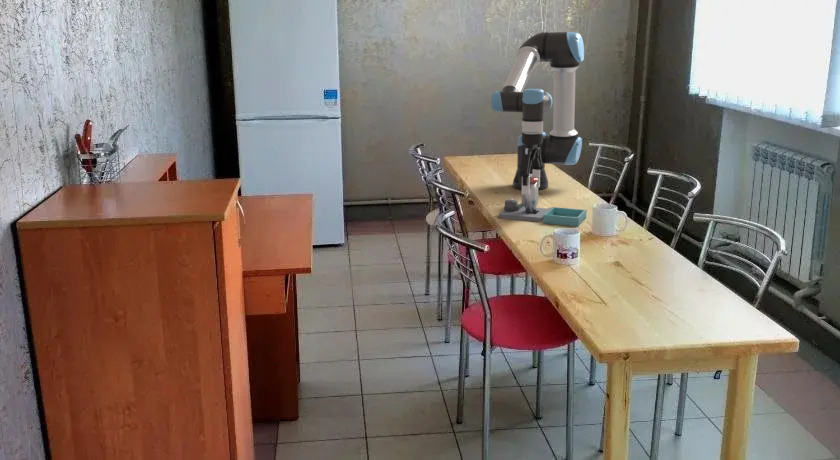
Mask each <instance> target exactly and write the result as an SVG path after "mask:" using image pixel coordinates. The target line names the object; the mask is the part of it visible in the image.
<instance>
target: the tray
mask: <svg viewBox="0 0 840 460" xmlns="http://www.w3.org/2000/svg"><path fill="white" fill-rule="evenodd" d="M549 209H550V210H549V211H548V212H546V213H545V214H544V218H543V221H542V222H543V224H548V225H560V226H568V225H569V226H570V227H579V226H580V225H581V224H582V223H583V222H584V221H585V220H586V219H587V212H588V211H587V209H582V208H581V209H579V208H569V207H556V206H552V207H551V208H549Z"/></svg>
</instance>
